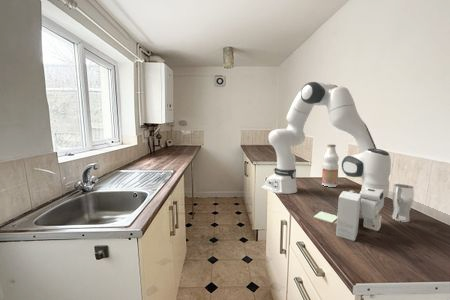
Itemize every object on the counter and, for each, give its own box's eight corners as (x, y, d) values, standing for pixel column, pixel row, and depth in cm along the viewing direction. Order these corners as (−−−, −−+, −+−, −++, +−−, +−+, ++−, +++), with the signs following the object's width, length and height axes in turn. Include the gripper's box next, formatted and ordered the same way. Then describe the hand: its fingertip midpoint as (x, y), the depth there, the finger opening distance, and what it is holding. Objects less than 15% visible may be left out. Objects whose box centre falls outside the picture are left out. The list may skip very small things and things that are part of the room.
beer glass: (403, 223, 89) (406, 189, 87) (386, 216, 96) (389, 184, 94) (415, 221, 91) (418, 187, 89) (398, 215, 97) (401, 183, 96)
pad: (313, 217, 96) (313, 216, 96) (320, 212, 101) (320, 211, 101) (332, 223, 90) (332, 222, 90) (338, 217, 96) (338, 216, 96)
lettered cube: (363, 226, 87) (363, 214, 86) (366, 222, 90) (367, 211, 90) (377, 231, 83) (378, 218, 82) (380, 226, 87) (381, 214, 86)
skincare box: (340, 227, 86) (342, 190, 84) (359, 232, 82) (362, 193, 80) (335, 236, 80) (337, 196, 78) (355, 242, 76) (358, 199, 74)
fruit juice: (328, 188, 138) (330, 145, 134) (318, 184, 147) (320, 144, 143) (340, 187, 140) (343, 145, 136) (330, 183, 149) (332, 143, 145)
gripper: (371, 183, 94) (369, 212, 96) (358, 193, 80) (355, 228, 82) (389, 186, 90) (386, 217, 91) (378, 197, 76) (375, 234, 77)
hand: (372, 222), depth 86 cm, fingers closed on lettered cube, 5 cm apart
